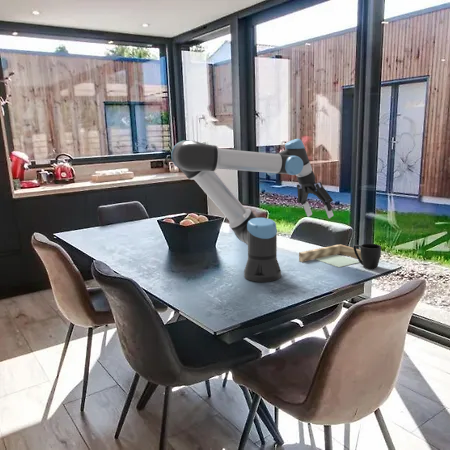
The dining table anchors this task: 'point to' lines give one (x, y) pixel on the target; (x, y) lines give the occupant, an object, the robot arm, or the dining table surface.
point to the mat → (337, 260)
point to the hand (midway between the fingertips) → (320, 216)
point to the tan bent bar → (328, 252)
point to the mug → (369, 255)
